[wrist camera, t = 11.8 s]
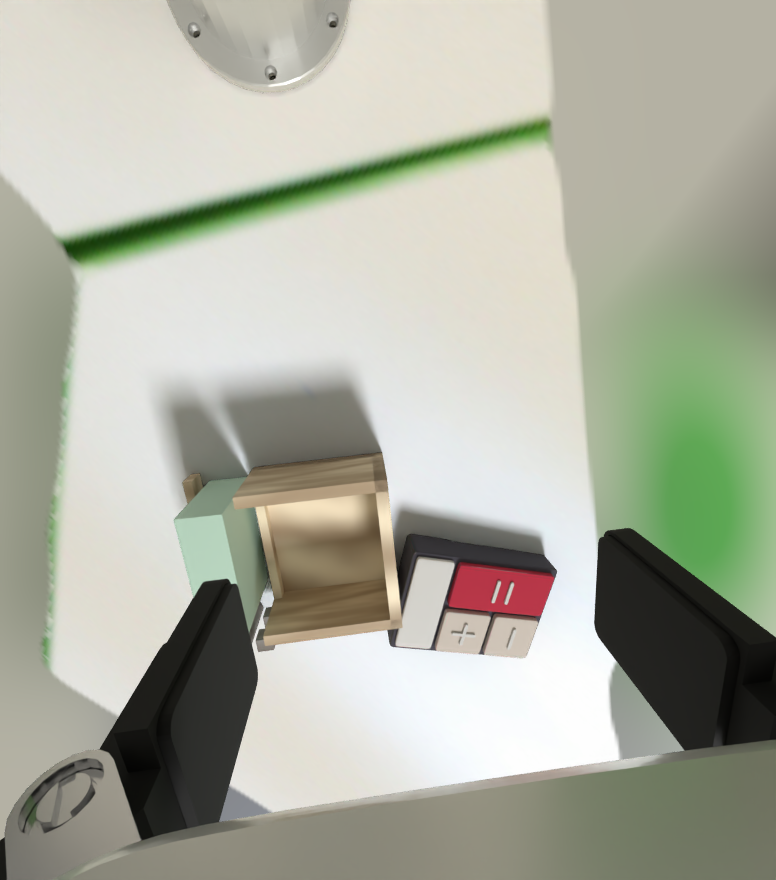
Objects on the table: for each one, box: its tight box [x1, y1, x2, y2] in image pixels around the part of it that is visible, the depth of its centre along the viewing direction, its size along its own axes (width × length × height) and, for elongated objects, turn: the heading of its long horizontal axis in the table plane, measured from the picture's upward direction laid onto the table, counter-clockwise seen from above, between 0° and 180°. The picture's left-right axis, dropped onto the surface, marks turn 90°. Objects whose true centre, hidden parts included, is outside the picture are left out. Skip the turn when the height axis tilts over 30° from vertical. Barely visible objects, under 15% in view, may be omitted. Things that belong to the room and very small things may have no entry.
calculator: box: [388, 534, 557, 658], centre depth 43 cm, size 11×4×15 cm
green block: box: [174, 477, 268, 632], centre depth 37 cm, size 12×4×8 cm, turn 5°
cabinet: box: [182, 452, 403, 652], centre depth 37 cm, size 16×18×8 cm
